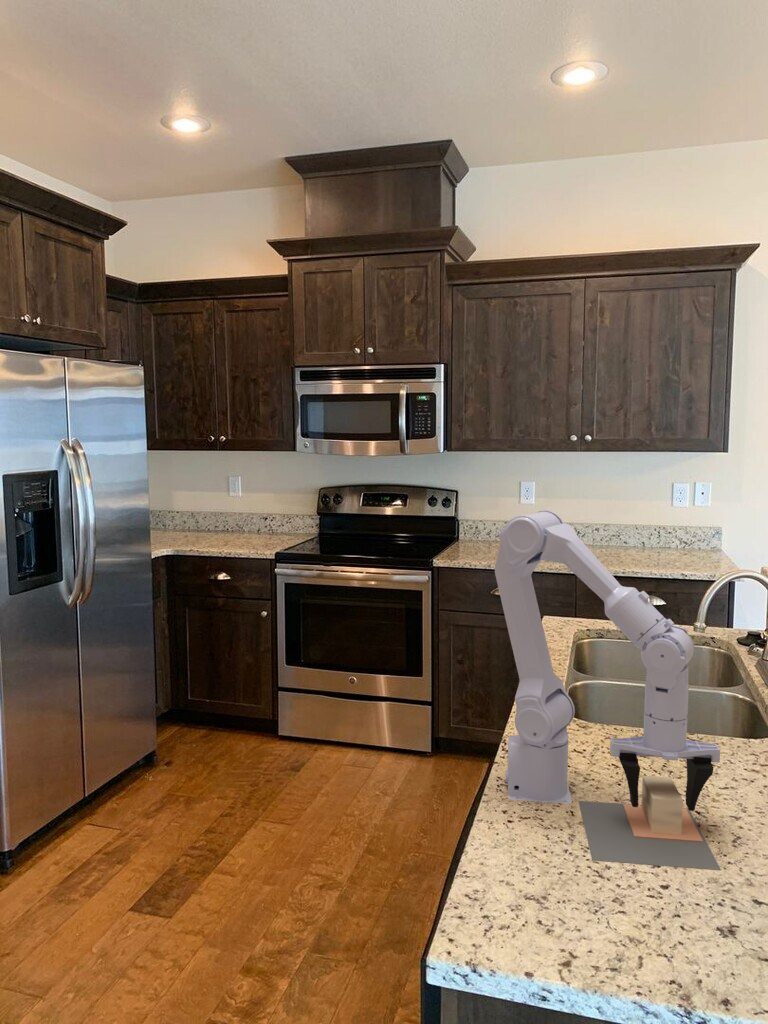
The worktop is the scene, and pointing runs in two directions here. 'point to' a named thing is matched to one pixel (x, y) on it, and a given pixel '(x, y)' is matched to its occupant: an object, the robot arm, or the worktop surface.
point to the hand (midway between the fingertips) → (661, 805)
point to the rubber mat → (642, 838)
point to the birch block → (662, 805)
